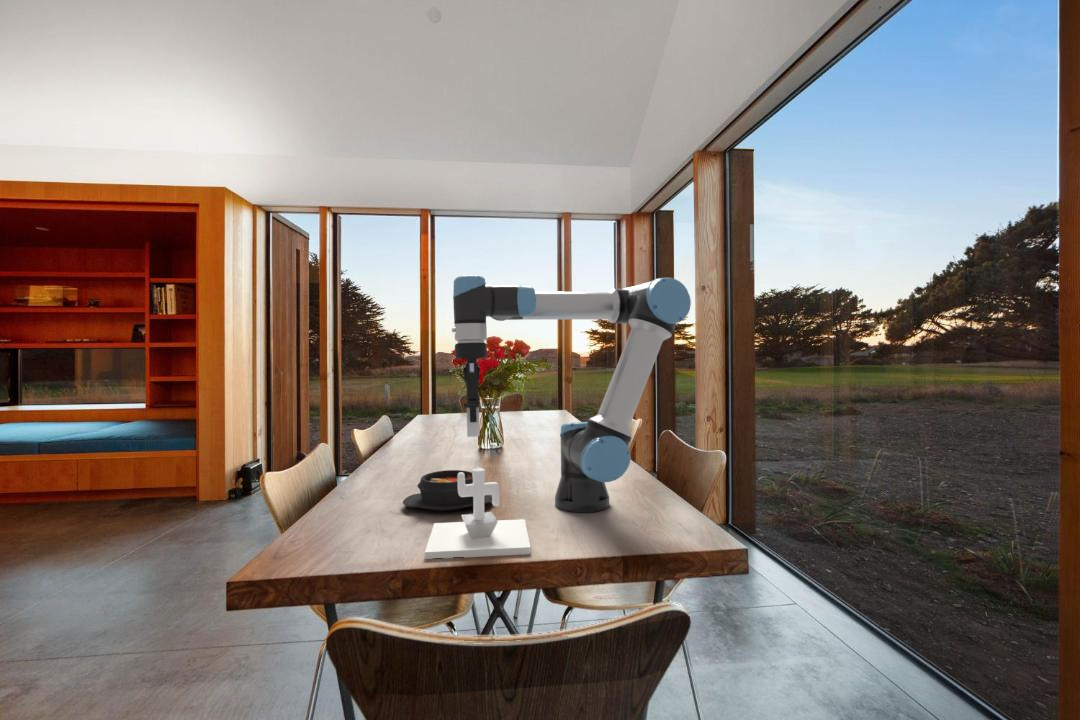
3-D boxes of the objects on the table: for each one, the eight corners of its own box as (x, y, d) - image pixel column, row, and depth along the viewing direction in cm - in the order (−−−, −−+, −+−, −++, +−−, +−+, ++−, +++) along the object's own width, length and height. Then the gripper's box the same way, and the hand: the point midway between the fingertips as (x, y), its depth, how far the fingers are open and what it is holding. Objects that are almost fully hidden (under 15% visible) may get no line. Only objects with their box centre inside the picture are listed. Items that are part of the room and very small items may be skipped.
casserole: (493, 494, 154) (493, 467, 154) (493, 514, 136) (493, 483, 135) (408, 497, 152) (408, 469, 152) (397, 518, 133) (396, 486, 133)
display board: (524, 525, 127) (524, 519, 127) (530, 554, 109) (530, 547, 109) (434, 529, 125) (434, 523, 125) (424, 559, 107) (424, 552, 107)
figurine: (502, 537, 115) (502, 470, 114) (460, 542, 112) (459, 473, 112) (496, 526, 122) (495, 463, 121) (456, 531, 119) (455, 466, 119)
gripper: (455, 343, 133) (457, 424, 134) (453, 341, 109) (456, 441, 109) (484, 342, 134) (486, 423, 135) (489, 340, 110) (491, 439, 110)
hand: (473, 431), depth 122 cm, fingers open, 13 cm apart
